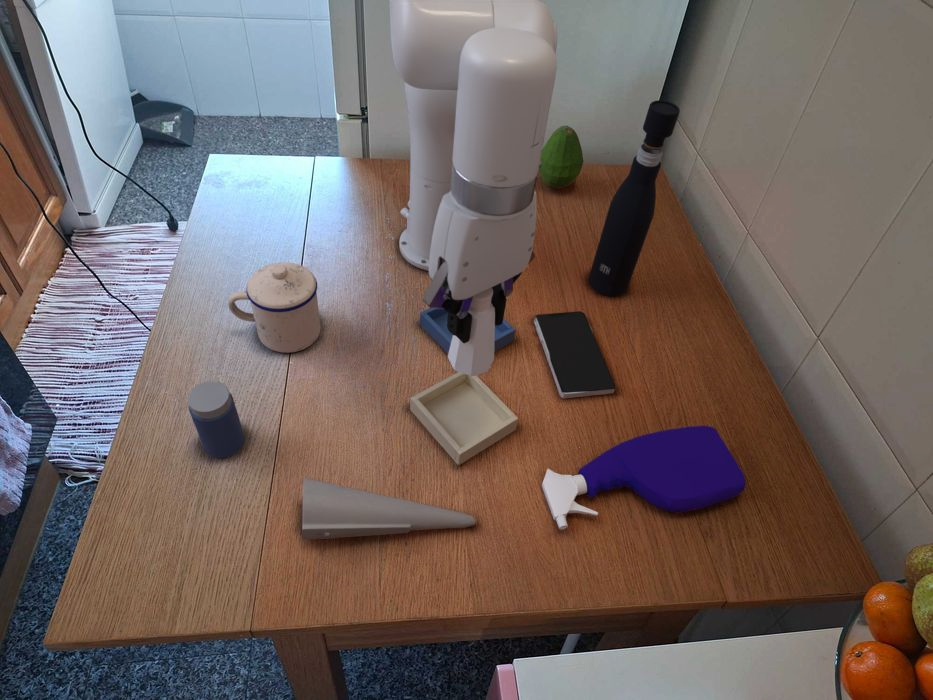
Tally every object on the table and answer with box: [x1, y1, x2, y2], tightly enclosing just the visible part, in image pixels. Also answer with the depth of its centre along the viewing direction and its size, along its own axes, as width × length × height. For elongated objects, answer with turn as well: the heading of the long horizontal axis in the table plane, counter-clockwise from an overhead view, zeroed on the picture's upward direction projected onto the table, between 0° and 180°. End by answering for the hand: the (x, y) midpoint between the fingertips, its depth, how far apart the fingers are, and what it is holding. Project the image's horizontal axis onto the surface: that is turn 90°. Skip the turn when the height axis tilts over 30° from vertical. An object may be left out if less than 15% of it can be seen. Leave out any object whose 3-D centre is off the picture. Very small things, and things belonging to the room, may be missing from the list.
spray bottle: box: [541, 425, 747, 531], centre depth 78 cm, size 3×11×24 cm
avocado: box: [538, 125, 584, 189], centre depth 118 cm, size 8×8×12 cm
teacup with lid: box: [227, 261, 322, 354], centre depth 87 cm, size 12×9×12 cm
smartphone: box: [533, 310, 616, 399], centre depth 93 cm, size 8×1×15 cm
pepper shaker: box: [187, 380, 246, 459], centre depth 75 cm, size 5×5×9 cm
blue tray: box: [419, 300, 517, 354], centre depth 93 cm, size 10×9×2 cm
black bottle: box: [587, 99, 681, 297], centre depth 93 cm, size 6×6×30 cm
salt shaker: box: [447, 288, 495, 377], centre depth 71 cm, size 5×5×11 cm
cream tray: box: [409, 372, 519, 466], centre depth 83 cm, size 10×9×2 cm
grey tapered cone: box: [301, 477, 477, 541], centre depth 73 cm, size 6×6×19 cm
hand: (474, 324), depth 71 cm, fingers closed on salt shaker, 4 cm apart
